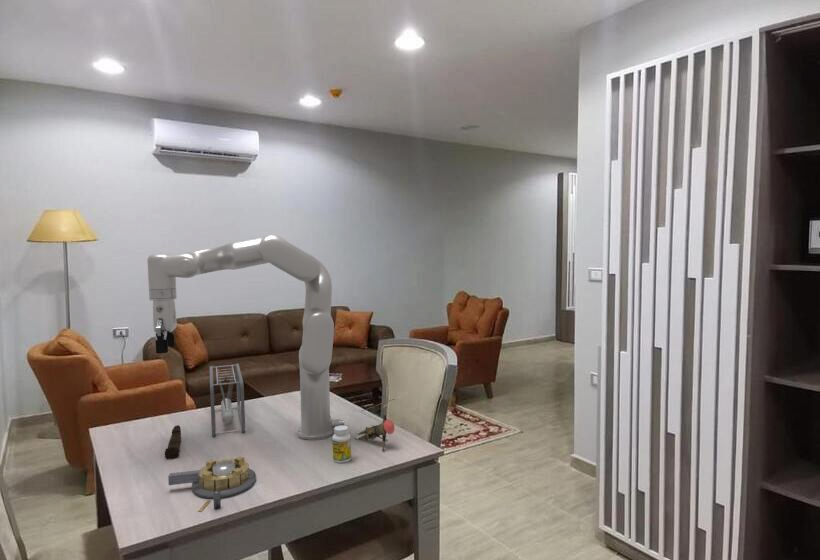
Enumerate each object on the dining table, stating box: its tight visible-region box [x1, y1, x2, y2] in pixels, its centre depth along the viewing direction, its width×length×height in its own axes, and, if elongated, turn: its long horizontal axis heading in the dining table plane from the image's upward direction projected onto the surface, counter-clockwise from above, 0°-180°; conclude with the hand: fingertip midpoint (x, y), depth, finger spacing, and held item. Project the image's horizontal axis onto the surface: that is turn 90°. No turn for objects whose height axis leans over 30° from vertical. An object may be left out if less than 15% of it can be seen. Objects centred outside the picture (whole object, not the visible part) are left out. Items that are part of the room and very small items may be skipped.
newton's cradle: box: [209, 363, 246, 437], centre depth 184 cm, size 30×10×18 cm, turn 21°
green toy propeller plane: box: [354, 396, 403, 453], centre depth 163 cm, size 16×10×20 cm
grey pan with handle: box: [167, 455, 250, 491], centre depth 136 cm, size 20×12×4 cm, turn 104°
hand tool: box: [164, 424, 182, 460], centre depth 162 cm, size 19×4×5 cm, turn 17°
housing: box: [191, 461, 257, 513], centre depth 135 cm, size 16×21×5 cm
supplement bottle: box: [331, 425, 352, 464], centre depth 152 cm, size 5×5×10 cm
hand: (165, 349), depth 159 cm, fingers open, 9 cm apart
